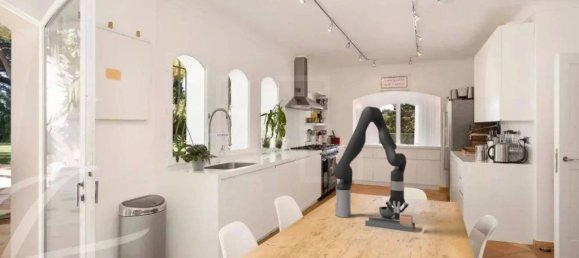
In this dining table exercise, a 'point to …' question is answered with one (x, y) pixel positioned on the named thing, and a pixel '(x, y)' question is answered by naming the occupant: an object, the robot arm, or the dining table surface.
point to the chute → (388, 224)
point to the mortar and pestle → (386, 212)
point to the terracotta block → (406, 220)
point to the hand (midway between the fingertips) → (396, 219)
